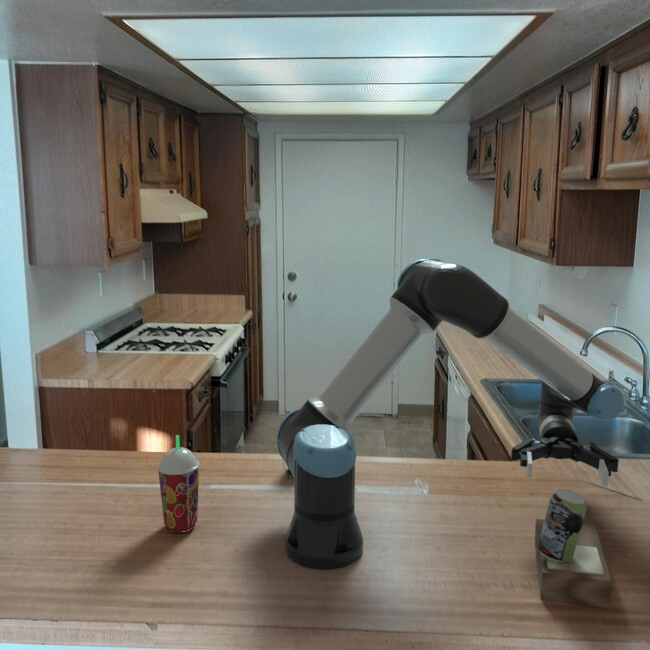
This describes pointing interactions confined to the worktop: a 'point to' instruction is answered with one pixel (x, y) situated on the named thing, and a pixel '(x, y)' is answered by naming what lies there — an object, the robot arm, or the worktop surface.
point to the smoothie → (179, 488)
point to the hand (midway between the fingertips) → (567, 474)
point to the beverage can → (562, 525)
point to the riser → (575, 572)
